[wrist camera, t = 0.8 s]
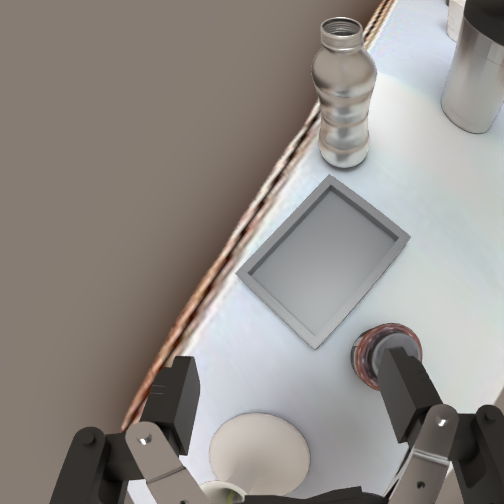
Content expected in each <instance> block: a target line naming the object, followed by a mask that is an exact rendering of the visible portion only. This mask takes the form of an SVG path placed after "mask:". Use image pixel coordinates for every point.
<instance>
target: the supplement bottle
mask: <svg viewBox="0 0 504 504" xmlns="http://www.w3.org/2000/svg"><path fill="white" fill-rule="evenodd" d="M395 346H403V348H404V349H405V351H406V353H407V355H408V356H414V357H415V358H417V359H418V360H419V361H420V362H421V363H422V347H421V344H420V341H419V339H418V337H417V336H416V334H415V333H414V332H413V331H412V330H411V329H409V328H408V327H406V326H404V325H401V324H396V323H388V324H383V325H379V326H377V327H375V328H373V329H370V330H368V331H366V332H364V333H362V335H360V337H359V338H358V339H357V340H356V342H355V343H354V345H353V348H352V351H351V364H352V367H353V369H354V371H355V372H356V374H357V375H358V376H359V377H360V378H361V379H362V381H363V382H364V383H366V384H367V385H368V386H369V387H371V388H373V389H375V390H378V391H380V389H379V386H378V381H377V375H378V370H379V367H380V363H381V359H382V355H383V351H384V349H385V348H388V347H395Z"/></svg>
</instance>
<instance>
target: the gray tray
mask: <svg viewBox="0 0 504 504" xmlns="http://www.w3.org/2000/svg"><path fill="white" fill-rule="evenodd" d="M410 237H411V236H409V235H408V234H407V233H406V232H405V231H403V230H402V229H401V228H400V227H399V226H397V225H396V224H395V223H394V222H392V221H391V220H390V219H389V218H387V217H386V216H385V215H384V214H382V213H381V212H380V211H378V210H377V209H376V208H375V207H373V206H372V205H371V204H369V203H368V202H367V201H366V200H364V199H363V198H362V197H360V196H359V195H358V194H356V193H355V192H354V191H352V190H351V189H349V188H348V187H347V186H345V185H344V184H343V183H341V182H340V181H338V180H337V179H336V178H334V177H333V176H331V175H330V174H329V175H328V176H327V177H326V178H325V179H324V180H323V181H322V182H321V184H320V185H319V186H318V187H317V188H316V189H315V190H314V191H313V192H312V193H311V194H310V195H309V196H308V197H307V198H306V199H305V200H304V201H303V202H302V204H301V205H300V206H299V207H298V208H297V209H296V210H295V211H294V212H293V213H292V214H291V215H290V216H289V217H288V218H287V219H286V220H285V221H284V222H283V224H282V225H281V226H280V227H279V228H278V229H277V230H276V231H275V232H274V233H273V234H272V235H271V236H270V237H269V238H268V239H267V240H266V241H265V242H264V244H263V245H262V246H261V247H260V248H259V249H258V250H257V251H256V252H255V253H254V254H253V255H252V256H251V257H250V258H249V259H248V260H247V261H246V262H245V263H244V265H243V266H242V267H241V268H240V269H239V270H238V271H237V272H236V273H235V274H236V275H237V276H238V277H239V278H240V279H241V280H242V281H243V282H244V283H245V284H246V285H247V286H248V287H249V288H250V289H251V290H252V291H253V292H254V293H255V294H257V295H258V296H259V297H260V298H261V299H262V300H263V301H264V302H265V303H266V304H267V305H268V306H269V307H270V308H271V309H272V310H273V311H274V312H275V313H276V314H277V315H278V316H279V317H280V318H282V319H283V320H284V321H285V322H286V323H287V324H288V325H289V326H290V327H291V328H292V329H293V330H294V331H295V332H296V333H297V334H298V335H299V336H301V337H302V338H303V339H304V340H305V341H306V342H307V343H308V344H309V345H310V346H311V347H312V348H313V349H314V350H316V349H317V348H318V347H319V345H320V344H321V343H322V342H323V341H324V340H325V339H326V338H327V337H328V336H329V335H330V334H331V333H332V332H333V331H334V329H335V328H336V327H337V326H338V325H339V324H340V323H341V322H342V321H343V320H344V318H345V317H346V316H347V315H348V314H349V313H350V312H351V311H352V309H353V308H354V307H355V306H356V305H357V304H358V303H359V301H360V300H361V299H362V298H363V297H364V296H365V294H366V293H367V292H368V291H369V290H370V288H371V287H372V286H373V285H374V284H375V282H376V281H377V280H378V279H379V278H380V276H381V275H382V274H383V273H384V271H385V270H386V269H387V268H388V266H389V265H390V264H391V263H392V261H393V260H394V259H395V257H396V256H397V255H398V254H399V252H400V251H401V250H402V248H403V247H404V246H405V244H406V243H407V242H408V240H409V239H410Z"/></svg>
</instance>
